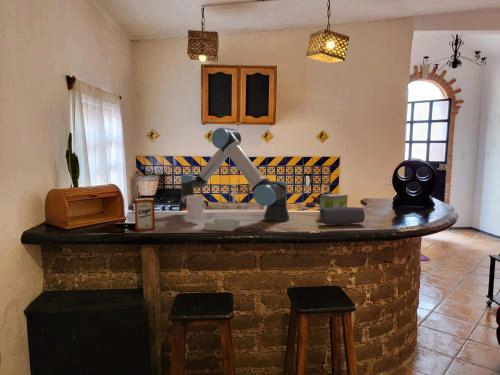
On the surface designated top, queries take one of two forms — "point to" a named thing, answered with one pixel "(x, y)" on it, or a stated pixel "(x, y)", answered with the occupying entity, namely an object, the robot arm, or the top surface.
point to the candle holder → (195, 206)
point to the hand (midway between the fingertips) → (196, 206)
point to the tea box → (332, 201)
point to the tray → (222, 224)
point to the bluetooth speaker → (342, 215)
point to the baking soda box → (144, 214)
